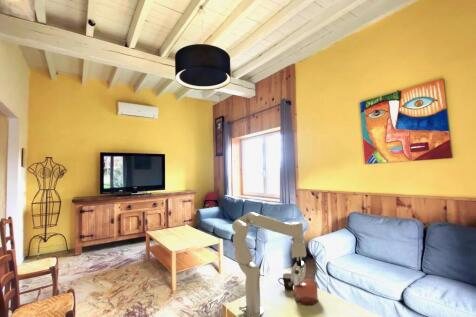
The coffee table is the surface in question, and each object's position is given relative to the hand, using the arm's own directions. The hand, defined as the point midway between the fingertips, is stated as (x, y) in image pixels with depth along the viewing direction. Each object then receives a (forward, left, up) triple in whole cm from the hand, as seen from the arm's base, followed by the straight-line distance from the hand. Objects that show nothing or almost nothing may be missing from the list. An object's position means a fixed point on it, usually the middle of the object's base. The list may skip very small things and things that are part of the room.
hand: (298, 265), depth 170 cm
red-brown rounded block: (+4, 0, -24) cm, 24 cm away
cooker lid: (0, 0, -5) cm, 5 cm away
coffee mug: (-4, +17, -24) cm, 30 cm away
